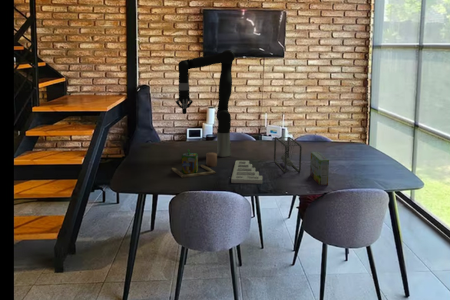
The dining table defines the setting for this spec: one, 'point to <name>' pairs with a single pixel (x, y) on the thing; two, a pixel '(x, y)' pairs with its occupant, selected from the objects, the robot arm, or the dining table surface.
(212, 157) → the wooden block
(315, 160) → the snack box
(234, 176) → the holder
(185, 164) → the chalk box
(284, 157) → the newton's cradle
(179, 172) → the tan flat bent strip
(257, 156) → the dining table surface
